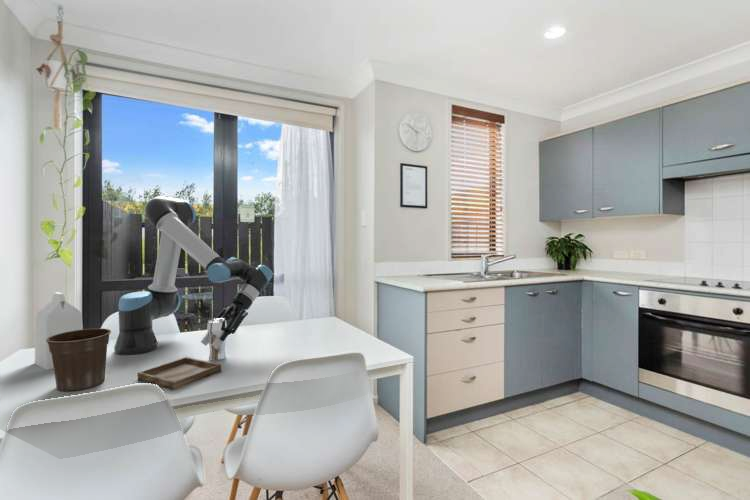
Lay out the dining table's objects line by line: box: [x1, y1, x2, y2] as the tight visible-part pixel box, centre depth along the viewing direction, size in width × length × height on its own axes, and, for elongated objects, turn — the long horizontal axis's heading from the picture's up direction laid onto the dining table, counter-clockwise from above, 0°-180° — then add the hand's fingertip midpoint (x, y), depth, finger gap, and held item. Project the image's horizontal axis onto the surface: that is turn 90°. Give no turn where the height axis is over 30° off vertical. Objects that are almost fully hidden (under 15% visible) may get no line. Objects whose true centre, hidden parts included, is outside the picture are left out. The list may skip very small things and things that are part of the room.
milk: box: [34, 291, 84, 371], centre depth 139 cm, size 12×12×26 cm
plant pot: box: [46, 327, 112, 392], centre depth 119 cm, size 16×16×16 cm
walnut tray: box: [137, 356, 222, 391], centre depth 127 cm, size 18×18×2 cm
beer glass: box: [206, 318, 228, 362], centre depth 144 cm, size 7×7×15 cm
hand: (208, 345), depth 141 cm, fingers closed on beer glass, 7 cm apart
